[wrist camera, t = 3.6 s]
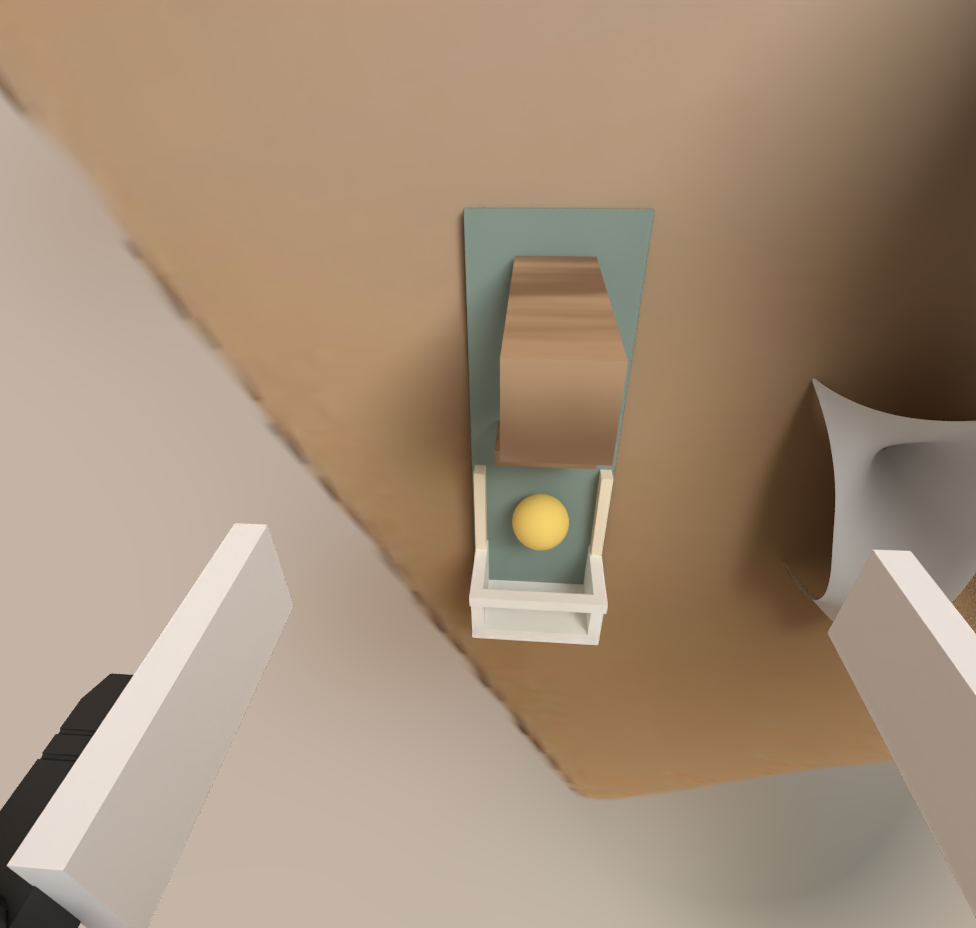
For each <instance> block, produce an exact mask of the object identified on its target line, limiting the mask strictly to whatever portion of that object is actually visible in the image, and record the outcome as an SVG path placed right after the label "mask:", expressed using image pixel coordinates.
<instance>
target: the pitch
mask: <svg viewBox="0 0 976 928" xmlns="http://www.w3.org/2000/svg"><path fill="white" fill-rule="evenodd" d="M653 218H654V210H653V209H594V208H465V209H464V233H465V264H466V295H467V326H468V358H469V389H470V420H471V451H472V483H473V514H474V545H475V552H476V550H486V545H487V540H488V545H489V580H507V581H526V582H545V583H564V584H584V577H585V569H586V562H587V554H588V547H589V545H590V548H591V555H596V556H602V550H603V544H604V537H605V531H606V524H607V518H608V511H609V505H610V498H611V492H612V485H613V479H614V472H615V466H616V459H617V453H618V446H619V440H620V433H621V426H622V420H623V413H624V407H625V400H626V394H627V387H628V381H629V374H630V368H631V361H632V355H633V348H634V342H635V335H636V329H637V322H638V315H639V309H640V302H641V296H642V289H643V283H644V276H645V270H646V263H647V257H648V250H649V244H650V237H651V231H652V224H653ZM515 256H591V257H597V259H598V263H599V266H600V269H601V273H602V276H603V280H604V283H605V286H606V290H607V293H608V296H609V300H610V303H611V306H612V310H613V313H614V316H615V320H616V323H617V327H618V330H619V333H620V337H621V340H622V343H623V347H624V350H625V353H626V357H627V360H628V364H627V371H626V378H625V385H624V391H623V398H622V405H621V411H620V418H619V425H618V432H617V438H616V445H615V452H614V458H613V465H612V466H608V465H597V466H596V469H572V468H546V467H520V466H495V444H496V435H497V427H498V421H500V356H501V349H502V342H503V335H504V328H505V321H506V314H507V307H508V300H509V293H510V286H511V279H512V272H513V265H514V258H515ZM534 494H547V495H550V496H553V497H555V498H556V499H558V500H559V501H560V502H561V503H562V504H563V505H564V507H565V509H566V511H567V513H568V517H569V528H568V532H567V534H566V536H565V538H564V539H563V540H562V542H561V543H560V544H558V545H557V546H555V547H554V548H551V549H548V550H534V549H531V548H528V547H526V546H525V545H524V544H522V543H521V542H520V541H519V540H518V538H517V537H516V535H515V533H514V530H513V525H512V519H513V514H514V511H515V509H516V507H517V506H518V504H519V503H520V502H521V501H522V500H523V499H525V498H526V497H528V496H530V495H534Z"/></svg>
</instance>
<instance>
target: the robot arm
mask: <svg viewBox="0 0 976 928" xmlns="http://www.w3.org/2000/svg"><path fill="white" fill-rule="evenodd" d="M292 608H293V603H292V600H291V596H290V593H289V590H288V587H287V584H286V581H285V578H284V574H283V571H282V569H281V565H280V562H279V559H278V556H277V553H276V549H275V546H274V543H273V540H272V537H271V534H270V531H269V527H268V525H262V524H237V523H235V524H234V526H233V527H232V529H231V530H230V531H229V533H228V534H227V536H226V537H225V539H224V540H223V542H222V543H221V545H220V546H219V548H218V549H217V551H216V552H215V554H214V556H213V557H212V558H211V560H210V561H209V563H208V564H207V566H206V567H205V569H204V570H203V572H202V573H201V575H200V576H199V578H198V580H197V581H196V582H195V584H194V586H193V587H192V588H191V590H190V591H189V593H188V594H187V596H186V597H185V599H184V600H183V602H182V603H181V605H180V607H179V608H178V610H177V611H176V612H175V614H174V615H173V617H172V618H171V620H170V622H169V623H168V624H167V626H166V627H165V629H164V630H163V632H162V633H161V635H160V637H159V638H158V639H157V641H156V642H155V644H154V645H153V647H152V648H151V650H150V651H149V653H148V654H147V656H146V658H145V659H144V661H143V662H142V664H141V665H140V666H139V668H138V669H137V671H136V672H135V674H134V675H124V674H110V675H109V676H107V677H106V678H105V679H104V680H103V681H102V682H100V683H99V684H98V685H97V686H96V687H95V688H93V689H92V690H91V691H90V692H89V693H88V694H86V695H85V696H84V697H83V698H82V699H81V700H80V701H79V703H78V704H77V706H76V707H75V708H74V710H73V711H72V712H71V714H70V715H69V717H68V718H67V719H66V721H65V722H64V724H63V725H62V726H61V728H60V732H59V734H56V735H55V736H54V737H53V739H52V740H51V742H50V743H49V744H48V746H47V747H46V749H45V750H44V751H43V755H42V758H41V759H37V761H36V762H35V764H34V765H33V766H32V768H31V769H30V771H29V772H28V773H27V775H26V776H25V777H24V779H23V780H22V781H21V783H20V784H19V786H18V787H17V789H16V790H15V791H14V793H13V794H12V795H11V797H10V798H9V799H8V801H7V802H6V804H5V805H4V806H3V808H2V809H1V811H0V928H78V926H79V925H80V923H82V924H83V925H84V926H86V927H87V928H148V927H149V924H150V922H151V920H152V918H153V916H154V913H155V911H156V909H157V907H158V904H159V902H160V900H161V898H162V895H163V893H164V891H165V889H166V887H167V885H168V882H169V880H170V878H171V876H172V874H173V871H174V869H175V867H176V865H177V863H178V860H179V858H180V856H181V854H182V852H183V849H184V847H185V845H186V843H187V840H188V838H189V836H190V834H191V832H192V829H193V827H194V825H195V822H196V821H197V818H198V816H199V814H200V812H201V809H202V807H203V805H204V803H205V801H206V798H207V796H208V794H209V792H210V790H211V787H212V785H213V783H214V781H215V778H216V776H217V774H218V772H219V770H220V768H221V765H222V763H223V761H224V759H225V757H226V754H227V752H228V750H229V748H230V746H231V743H232V741H233V739H234V736H235V734H236V732H237V730H238V728H239V726H240V723H241V721H242V719H243V717H244V715H245V712H246V710H247V708H248V705H249V703H250V701H251V699H252V697H253V695H254V692H255V690H256V688H257V686H258V684H259V681H260V679H261V677H262V675H263V672H264V670H265V668H266V666H267V664H268V662H269V659H270V657H271V655H272V653H273V650H274V648H275V646H276V644H277V641H278V640H279V637H280V635H281V633H282V631H283V629H284V626H285V624H286V622H287V619H288V617H289V615H290V613H291V611H292ZM828 635H829V637H830V639H831V641H832V643H833V645H834V646H835V648H836V650H837V652H838V654H839V656H840V658H841V660H842V662H843V664H844V666H845V668H846V670H847V671H848V673H849V675H850V677H851V679H852V681H853V683H854V685H855V687H856V689H857V691H858V693H859V694H860V696H861V698H862V700H863V702H864V704H865V706H866V708H867V710H868V712H869V714H870V716H871V718H872V719H873V721H874V723H875V725H876V727H877V729H878V731H879V733H880V735H881V737H882V739H883V741H884V743H885V744H886V746H887V748H888V750H889V752H890V754H891V756H892V758H893V760H894V762H895V764H896V765H897V767H898V769H899V771H900V773H901V775H902V777H903V779H904V781H905V783H906V785H907V787H908V789H909V791H910V792H911V794H912V796H913V798H914V800H915V802H916V804H917V806H918V808H919V810H920V812H921V814H922V815H923V817H924V819H925V821H926V823H927V825H928V827H929V829H930V831H931V833H932V835H933V837H934V838H935V840H936V842H937V844H938V846H939V848H940V850H941V852H942V854H943V856H944V858H945V860H946V862H947V864H948V865H949V867H950V869H951V871H952V873H953V875H954V877H955V879H956V881H957V883H958V885H959V886H960V888H961V890H962V892H963V894H964V896H965V898H966V900H967V902H968V904H969V906H970V908H971V910H972V911H973V913H974V915H975V917H976V634H975V633H974V631H973V630H972V629H971V627H970V626H969V625H968V624H967V622H966V621H965V620H964V618H963V617H962V616H961V615H960V613H959V612H958V611H957V610H956V608H955V607H954V606H953V604H952V603H951V602H950V601H949V599H948V598H947V597H946V595H945V594H944V593H943V592H942V590H941V589H940V588H939V587H938V585H937V584H936V583H935V581H934V580H933V579H932V578H931V576H930V575H929V574H928V573H927V571H926V570H925V569H924V567H923V566H922V565H921V564H920V562H919V561H918V560H917V558H916V557H915V556H914V555H913V553H912V552H911V551H896V550H872V552H871V554H870V556H869V557H868V559H867V561H866V563H865V565H864V567H863V568H862V570H861V572H860V574H859V576H858V578H857V580H856V581H855V583H854V585H853V587H852V589H851V591H850V592H849V594H848V596H847V598H846V600H845V602H844V604H843V605H842V607H841V609H840V611H839V613H838V615H837V616H836V618H835V620H834V622H833V624H832V626H831V627H830V629H829V631H828Z"/></svg>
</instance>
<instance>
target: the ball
mask: <svg viewBox="0 0 976 928" xmlns="http://www.w3.org/2000/svg"><path fill="white" fill-rule="evenodd" d="M512 525H513V530H514V533H515V535H516V537H517V538H518V540H519V541H520V542H521V543H522V544H524V545H525V546H526V547H528V548H531V549H534V550H548V549H551V548H554V547H555V546H557V545H558V544H560V543H561V542H562V540H563V539H564V538H565V536H566V534H567V532H568V528H569V517H568V513H567V511H566V509H565V507H564V505H563V504H562V503H561V502H560V501H559V500H558V499H556V498H555V497H553V496H550V495H547V494H534V495H530V496H528V497H526V498H525V499H523V500H522V501H521V502H520V503H519V504H518V506H517V507H516V509H515V511H514V514H513V519H512Z"/></svg>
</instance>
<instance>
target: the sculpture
mask: <svg viewBox="0 0 976 928" xmlns="http://www.w3.org/2000/svg"><path fill="white" fill-rule="evenodd" d="M812 382H813V385H814V387H815V390H816V393H817V396H818V399H819V402H820V405H821V408H822V411H823V415H824V418H825V422H826V426H827V430H828V435H829V440H830V445H831V451H832V458H833V466H834V476H835V520H834V534H833V550H832V564H831V574H830V580H829V584H828V588H827V590H826V593H825V594H824V596H823V597H822V598H821V599H818V598H817V597H815V596H814V595H813V594H811V593H810V592H809V591H808V590H807V589H805V588H804V587H803V586H802V585H801V584H800V582H799V581H798V580H797V579H796V578H795V577H794V575H793V574H792V573H791V571H790V570H789V568H788V567H787V565H786V564H785V563H784V561H783V560H782V561H783V563H784V565H785V567H786V569H787V571H788V572H789V574H790V576H791V578H792V579H793V581H794V582H795V584H796V585H797V587H798V588H799V589H800V590H801V591H802V593H803V594H804V595H806V596H807V597H808V598H810V599H812V600H813V601H814V602H815V603H816V605H817V606H818V607H819V608H820V609H821V610H822V611H823V612H824V613H825V614H826V615H827V616H828V617H829V618H830V619H831V620H832V621H833V622H834V620H835V618H836V616H837V615H838V613H839V611H840V609H841V607H842V605H843V604H844V602H845V600H846V598H847V596H848V594H849V592H850V591H851V589H852V587H853V585H854V583H855V581H856V580H857V578H858V576H859V574H860V572H861V570H862V568H863V567H864V565H865V563H866V561H867V559H868V557H869V556H870V554H871V552H872V550H896V551H911V552H912V553H913V555H914V556H915V557H916V558H917V560H918V561H919V562H920V564H921V565H922V566H923V567H924V569H925V570H926V571H927V573H928V574H929V575H930V576H931V578H932V579H933V580H934V581H935V583H936V584H937V585H938V587H939V588H940V589H941V590H942V592H943V593H944V594H945V595H946V597H947V598H948V599H949V601H950V602H951V603H953V602H954V600H955V599H956V598H957V597H958V595H959V594H960V593H961V592H962V591H963V589H964V588H965V587H966V585H967V584H968V583H969V581H970V580H971V579H972V577H973V576H974V575H975V573H976V421H935V420H923V419H914V418H908V417H902V416H897V415H893V414H888V413H884V412H881V411H877V410H874V409H871V408H868V407H865V406H863V405H860V404H858V403H855V402H853V401H851V400H849V399H846V398H845V397H843V396H841V395H839V394H837V393H835V392H833V391H832V390H830V389H829V388H827V387H826V386H824V385H822V384H821V383H820V382H819V381H817V380H816V379H815V378H814V379H812ZM887 446H889V447H888V448H887V449H882V448H885V447H887ZM881 449H882V450H881Z"/></svg>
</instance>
